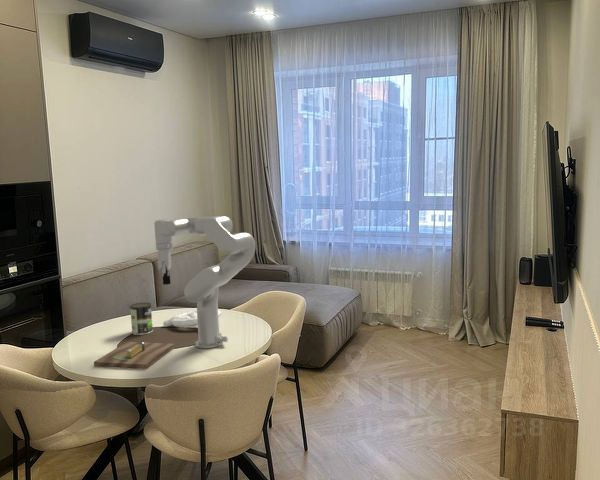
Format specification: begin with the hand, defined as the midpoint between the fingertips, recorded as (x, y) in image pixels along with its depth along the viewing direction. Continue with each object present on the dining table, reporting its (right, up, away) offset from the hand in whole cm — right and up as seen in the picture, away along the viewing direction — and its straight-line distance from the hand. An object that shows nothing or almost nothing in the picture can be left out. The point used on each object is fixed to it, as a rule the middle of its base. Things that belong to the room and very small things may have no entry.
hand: (166, 284), depth 251 cm
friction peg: (-8, -28, -22) cm, 37 cm away
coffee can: (-17, -26, +17) cm, 35 cm away
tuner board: (-8, -30, -20) cm, 37 cm away
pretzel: (+8, -24, +28) cm, 37 cm away
